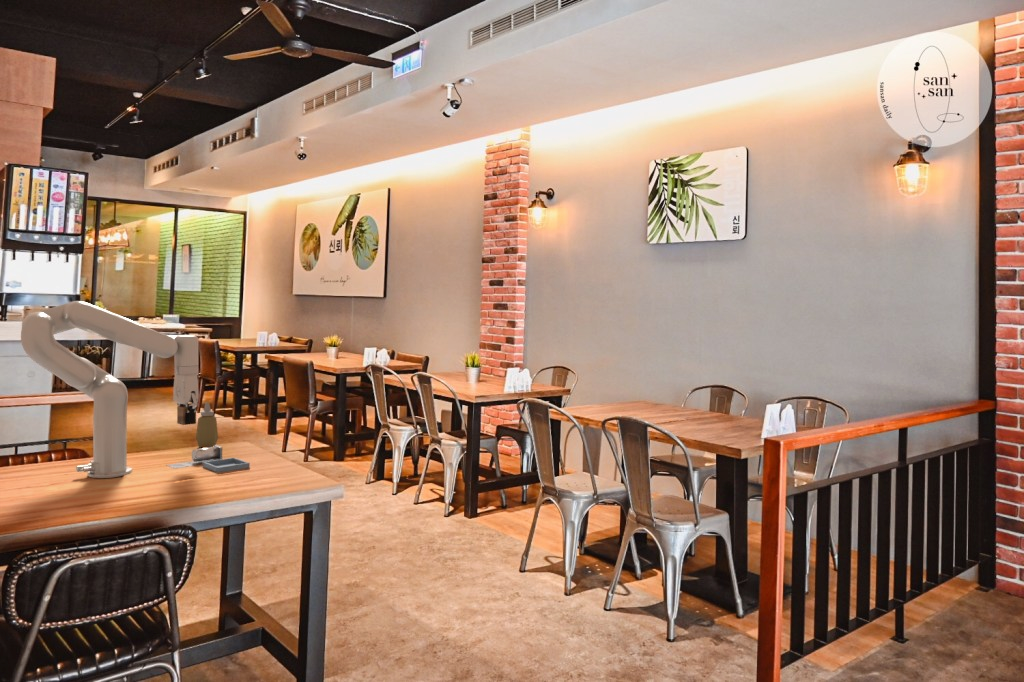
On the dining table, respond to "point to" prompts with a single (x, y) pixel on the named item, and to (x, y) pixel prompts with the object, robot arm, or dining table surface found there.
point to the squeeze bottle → (207, 428)
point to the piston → (207, 453)
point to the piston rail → (188, 464)
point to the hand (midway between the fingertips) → (186, 422)
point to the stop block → (182, 415)
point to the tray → (226, 465)
